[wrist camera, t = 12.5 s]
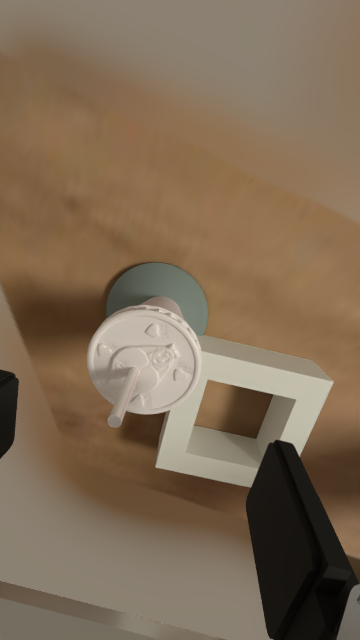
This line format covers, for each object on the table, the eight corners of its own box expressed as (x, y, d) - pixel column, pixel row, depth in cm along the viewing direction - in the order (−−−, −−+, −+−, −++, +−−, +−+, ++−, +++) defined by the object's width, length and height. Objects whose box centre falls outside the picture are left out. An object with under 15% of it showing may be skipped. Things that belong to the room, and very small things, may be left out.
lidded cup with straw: (110, 302, 24) (11, 385, 10) (174, 266, 23) (155, 308, 9) (148, 361, 25) (103, 500, 12) (209, 330, 24) (236, 444, 11)
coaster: (219, 276, 24) (220, 277, 23) (193, 368, 26) (193, 370, 26) (116, 250, 23) (114, 251, 23) (101, 346, 26) (99, 349, 25)
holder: (311, 360, 26) (333, 381, 22) (270, 460, 29) (282, 494, 25) (187, 330, 25) (186, 347, 21) (159, 436, 29) (155, 467, 25)
